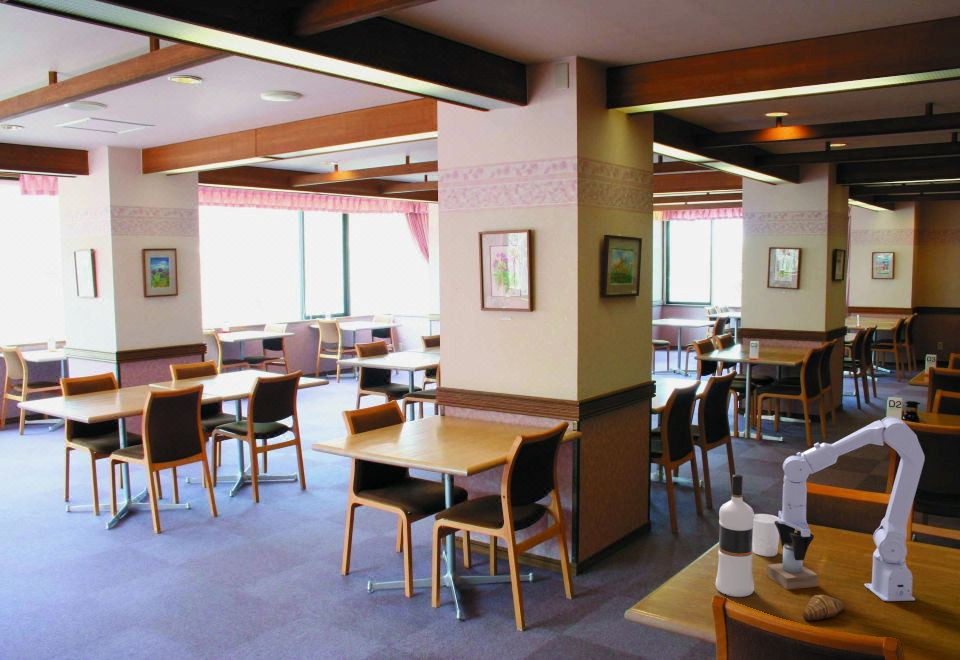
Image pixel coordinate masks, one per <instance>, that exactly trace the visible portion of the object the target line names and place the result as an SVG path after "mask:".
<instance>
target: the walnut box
mask: <svg viewBox="0 0 960 660" xmlns="http://www.w3.org/2000/svg"><path fill="white" fill-rule="evenodd" d="M782 567H783V562H782V563H780V562H779V563H772V564H766V573H765V574H766V577H767V578H769V579H770V580H772V581H773V582H775V583H776V584H777V585H779V586H780V587H782V588H784V589H785V590H797V589H807V588H814V587H818V586H819V574H817V573H816V572H814V571H812V570H811V569H809V568H808V567H806V566H804V565H803V564H802V572H801V573H790V572H786V571H784V570H783V569H782Z"/></svg>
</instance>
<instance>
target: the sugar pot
mask: <svg viewBox="0 0 960 660" xmlns="http://www.w3.org/2000/svg"><path fill="white" fill-rule="evenodd" d="M803 561H804V560H795V558H794V549H793V543H786V544H784V546H783V549H782V563H783V567H782V569H783V570H784V571H786V572H790V573H801V572H802V565H803Z"/></svg>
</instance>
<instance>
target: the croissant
mask: <svg viewBox="0 0 960 660" xmlns="http://www.w3.org/2000/svg"><path fill="white" fill-rule="evenodd" d="M844 608H845V602H844V601H843V600H841V599H839V598H835V597H831V596H830V595H826V594H815V595H813V596H812V597H811V598H810V599H809V601H808V604H807V605H806V606H805V608H804V611H803V615H802V616H803V619H804V620H805V621H812V622H814V621H820V620H821V621H822V620H825V619H831V618H834V617H836V616H837V614H841V613H842V612H843V610H844Z"/></svg>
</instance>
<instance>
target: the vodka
mask: <svg viewBox="0 0 960 660" xmlns="http://www.w3.org/2000/svg"><path fill="white" fill-rule="evenodd" d="M731 476H732V477H731V478H732V479H731V499H730V500H728V501H727V502H725V503H723V504H722V505H721V506H720V507H719V513H718V515H719V516H718V517H719V520H718V523H719V529H718V530H719V532H718V533H719V534H718V536H719V539H718V541H719V542H718V543H719V544H718V551H717V553H718V565H717V573H716V578H715V587H716V590H717V591H718V592H719V593H721V594H723V595H725V594H726V596H727V597H728V596H730V597H734V598H742V597H743V598H745V597H748V596H750V595H752V594H753V593H754V591H755V582H754V578H753V577H754V576H753V557H754V552H753V550H752V541H753V526H754V523H753V521H754V515H755V512H754V510H753V508H752V506H750V504H748V503H747V502H745V501H744V500H743V492H744V491H743V489H744V487H743V485H744V482H743V481H744V476H743V475H741V474H736V473H735V474H732V475H731Z"/></svg>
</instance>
